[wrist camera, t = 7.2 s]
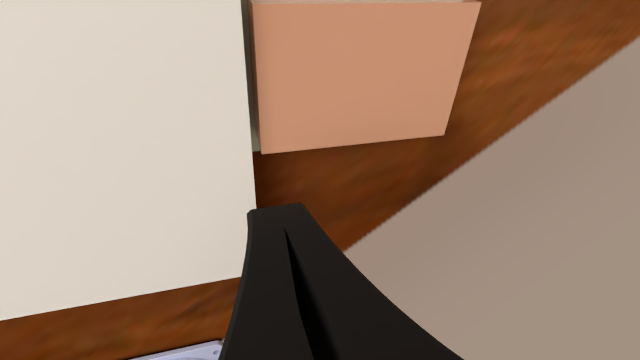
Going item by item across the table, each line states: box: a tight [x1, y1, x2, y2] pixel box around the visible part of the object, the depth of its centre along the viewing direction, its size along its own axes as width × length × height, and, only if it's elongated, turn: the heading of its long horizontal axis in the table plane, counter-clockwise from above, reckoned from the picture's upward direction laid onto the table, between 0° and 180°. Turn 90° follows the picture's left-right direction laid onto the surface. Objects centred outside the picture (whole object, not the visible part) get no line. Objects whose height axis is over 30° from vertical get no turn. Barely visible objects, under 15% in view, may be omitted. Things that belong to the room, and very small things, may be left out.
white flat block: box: [0, 0, 256, 320], centre depth 15 cm, size 14×12×3 cm
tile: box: [247, 0, 482, 154], centre depth 16 cm, size 6×9×2 cm, turn 87°
